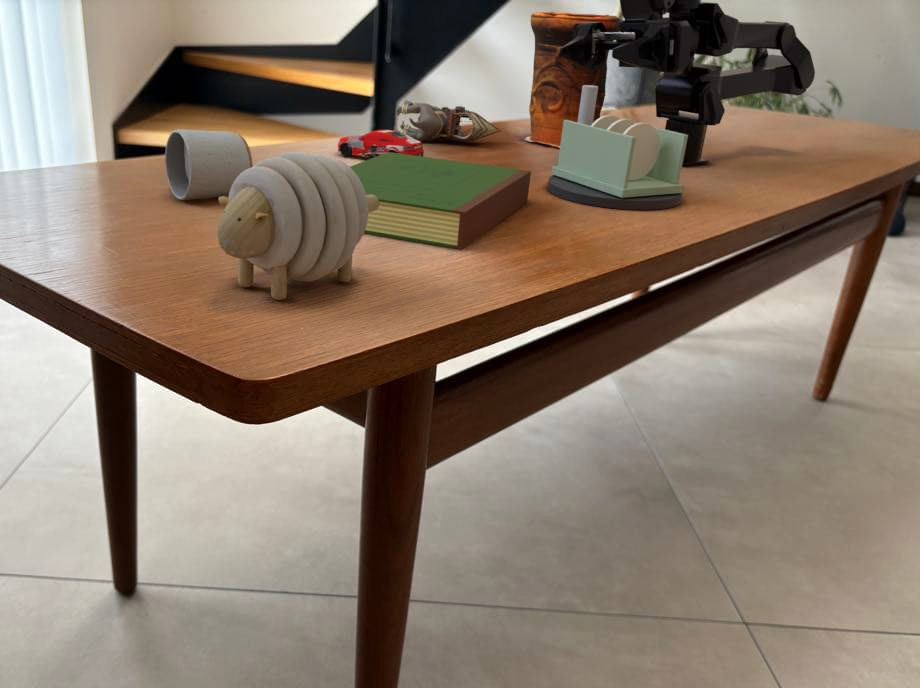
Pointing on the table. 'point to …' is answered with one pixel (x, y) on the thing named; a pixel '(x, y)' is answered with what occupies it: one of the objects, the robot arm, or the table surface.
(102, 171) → the table surface
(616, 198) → the turntable
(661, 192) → the dish rack
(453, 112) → the figurine
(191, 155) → the ceramic mug
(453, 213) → the hardcover book
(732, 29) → the robot arm
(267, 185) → the toy sheep
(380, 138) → the race car
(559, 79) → the vessel
